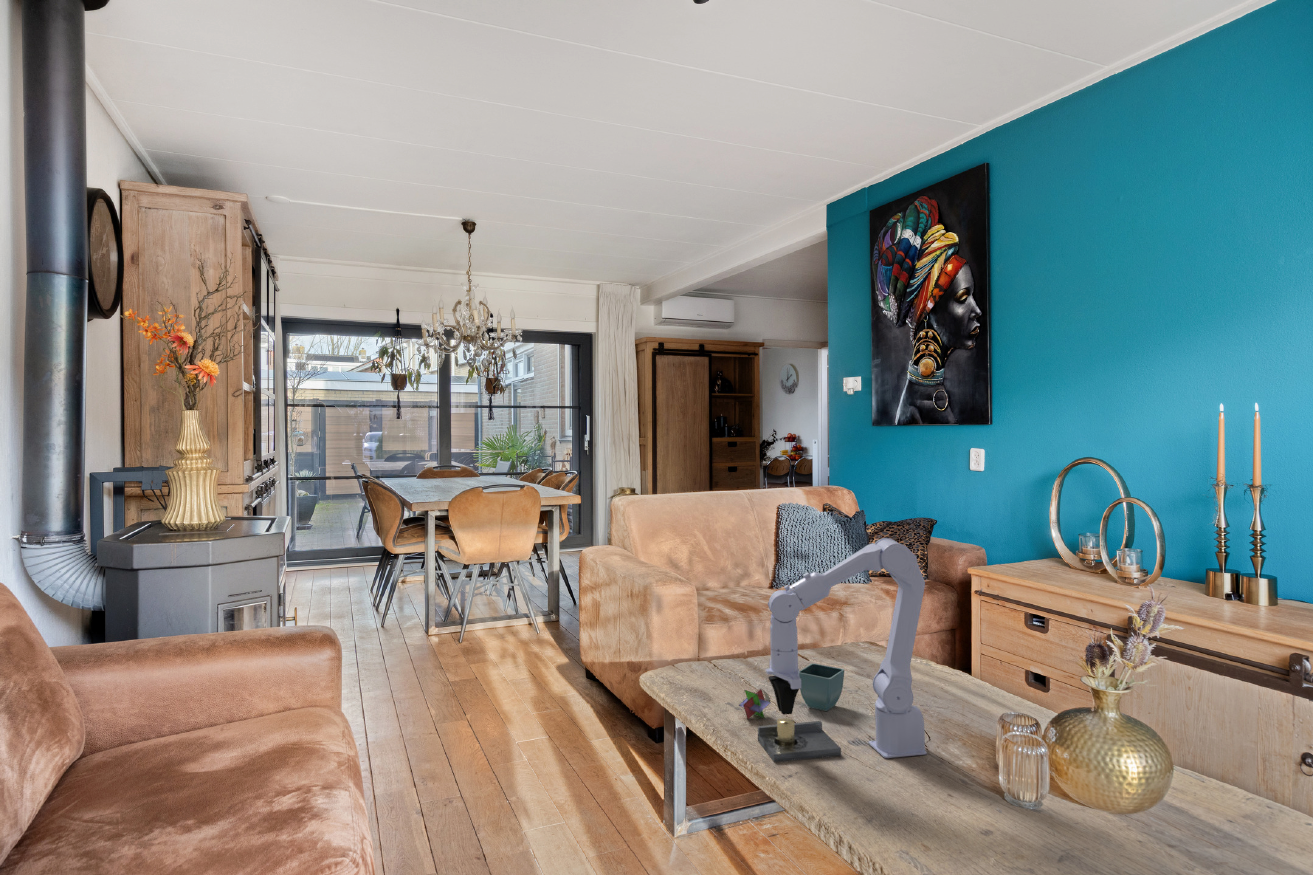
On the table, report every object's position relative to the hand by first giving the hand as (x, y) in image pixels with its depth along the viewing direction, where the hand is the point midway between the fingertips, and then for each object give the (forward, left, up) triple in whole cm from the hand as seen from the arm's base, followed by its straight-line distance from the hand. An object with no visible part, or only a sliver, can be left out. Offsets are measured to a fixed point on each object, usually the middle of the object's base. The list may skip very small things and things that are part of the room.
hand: (785, 712), depth 158 cm
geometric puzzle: (+1, -19, -8) cm, 21 cm away
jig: (-3, 0, -8) cm, 8 cm away
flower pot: (-17, -22, -8) cm, 29 cm away
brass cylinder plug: (0, 0, -8) cm, 8 cm away
